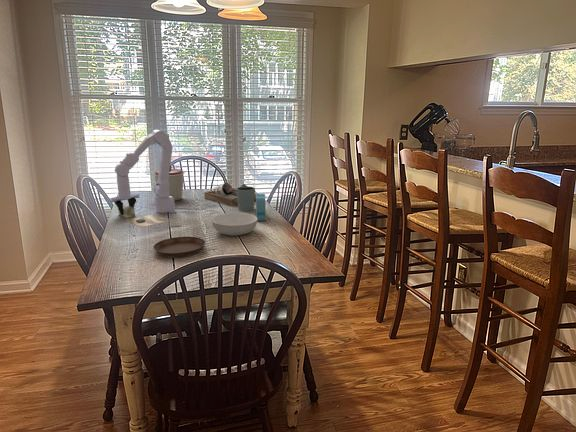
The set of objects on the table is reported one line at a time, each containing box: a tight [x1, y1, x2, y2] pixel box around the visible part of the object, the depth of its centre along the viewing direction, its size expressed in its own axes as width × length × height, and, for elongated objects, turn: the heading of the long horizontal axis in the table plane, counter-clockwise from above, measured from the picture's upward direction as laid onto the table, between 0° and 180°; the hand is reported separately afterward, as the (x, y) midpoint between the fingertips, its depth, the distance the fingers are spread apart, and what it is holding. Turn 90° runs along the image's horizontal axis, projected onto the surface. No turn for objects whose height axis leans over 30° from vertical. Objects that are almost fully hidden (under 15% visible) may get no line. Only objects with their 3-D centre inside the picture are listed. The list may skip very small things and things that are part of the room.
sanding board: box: [125, 213, 170, 228], centre depth 216 cm, size 15×17×2 cm
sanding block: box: [117, 204, 136, 219], centre depth 224 cm, size 4×9×5 cm, turn 45°
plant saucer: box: [153, 236, 206, 259], centre depth 178 cm, size 21×21×3 cm
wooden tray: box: [203, 188, 257, 207], centre depth 264 cm, size 19×27×4 cm
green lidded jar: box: [236, 186, 256, 212], centre depth 240 cm, size 10×10×12 cm
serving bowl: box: [211, 212, 258, 236], centre depth 200 cm, size 21×21×7 cm
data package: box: [255, 193, 267, 222], centre depth 222 cm, size 12×4×12 cm, turn 4°
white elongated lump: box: [214, 182, 249, 197], centre depth 264 cm, size 25×10×10 cm, turn 70°
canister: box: [153, 165, 185, 202], centre depth 262 cm, size 18×18×21 cm
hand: (126, 213), depth 224 cm, fingers closed on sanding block, 4 cm apart
